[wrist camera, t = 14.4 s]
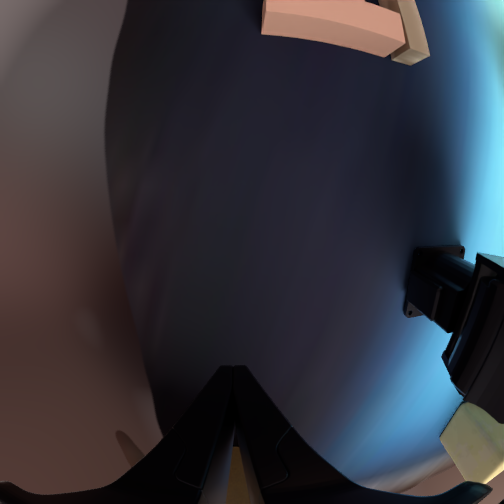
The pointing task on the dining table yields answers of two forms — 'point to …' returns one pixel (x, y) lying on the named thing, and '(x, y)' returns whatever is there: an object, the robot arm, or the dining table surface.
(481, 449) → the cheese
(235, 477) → the plant pot
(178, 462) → the robot arm
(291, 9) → the t block
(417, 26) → the wooden l block
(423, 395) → the dining table surface
